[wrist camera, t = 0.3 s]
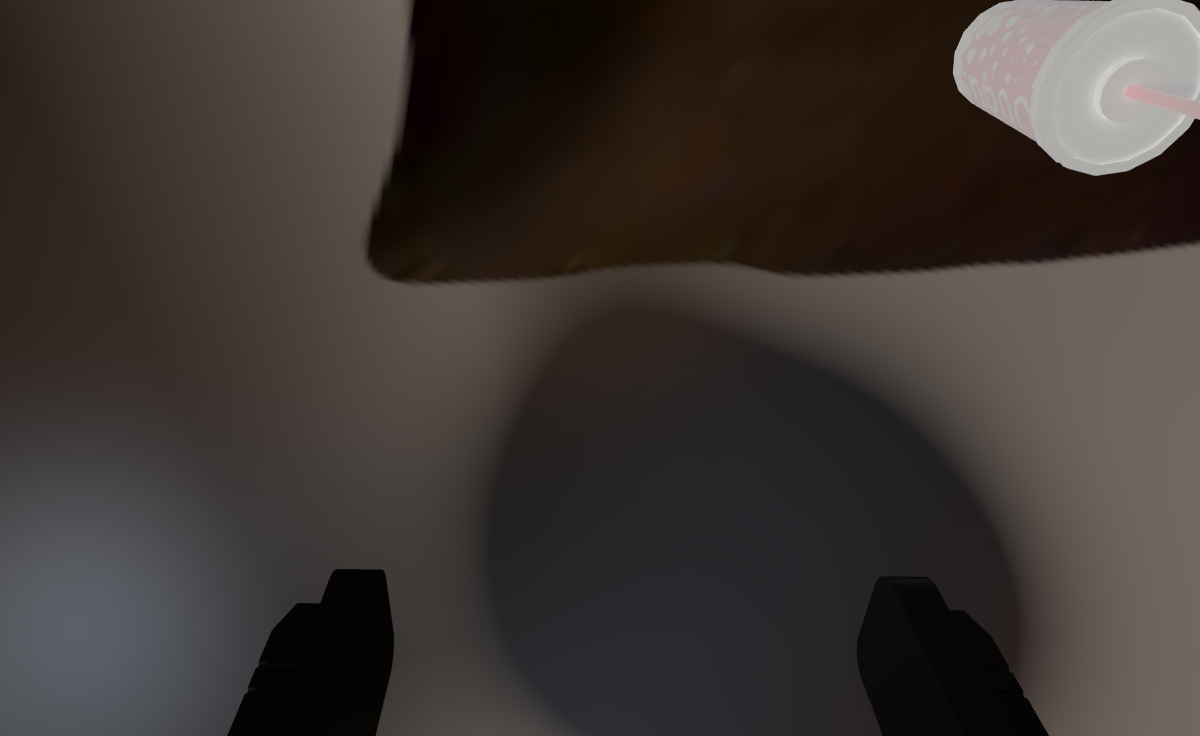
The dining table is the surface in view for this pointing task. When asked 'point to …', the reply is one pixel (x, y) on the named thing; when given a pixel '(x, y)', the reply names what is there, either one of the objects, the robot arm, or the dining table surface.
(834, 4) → the dining table surface
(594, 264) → the dining table surface
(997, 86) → the beverage cup
